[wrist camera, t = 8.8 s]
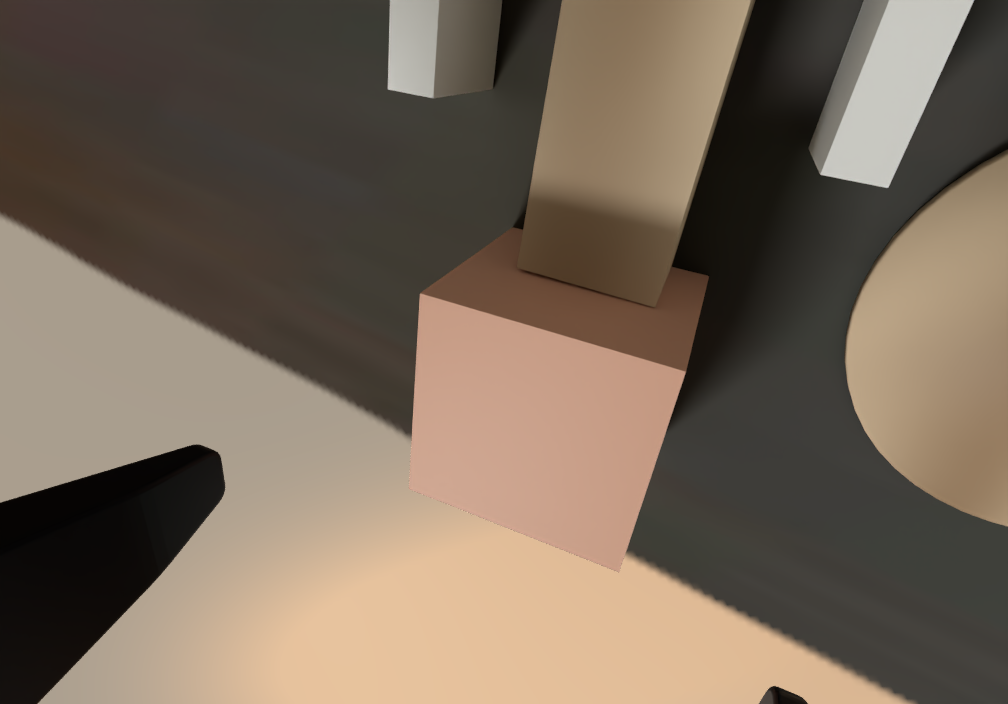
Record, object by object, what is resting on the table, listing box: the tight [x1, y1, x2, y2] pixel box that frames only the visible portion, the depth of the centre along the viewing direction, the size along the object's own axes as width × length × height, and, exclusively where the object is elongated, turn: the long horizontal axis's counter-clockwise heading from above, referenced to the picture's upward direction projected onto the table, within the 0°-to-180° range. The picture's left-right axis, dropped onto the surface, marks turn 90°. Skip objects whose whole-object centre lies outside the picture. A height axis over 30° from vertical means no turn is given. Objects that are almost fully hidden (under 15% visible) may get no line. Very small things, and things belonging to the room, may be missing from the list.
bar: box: [517, 0, 755, 308], centre depth 11 cm, size 3×10×3 cm, turn 170°
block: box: [409, 227, 709, 572], centre depth 14 cm, size 5×5×5 cm
